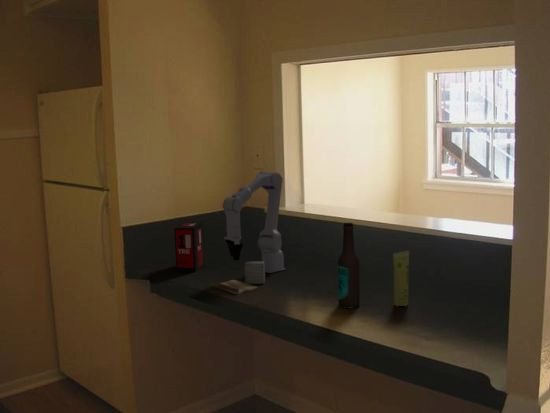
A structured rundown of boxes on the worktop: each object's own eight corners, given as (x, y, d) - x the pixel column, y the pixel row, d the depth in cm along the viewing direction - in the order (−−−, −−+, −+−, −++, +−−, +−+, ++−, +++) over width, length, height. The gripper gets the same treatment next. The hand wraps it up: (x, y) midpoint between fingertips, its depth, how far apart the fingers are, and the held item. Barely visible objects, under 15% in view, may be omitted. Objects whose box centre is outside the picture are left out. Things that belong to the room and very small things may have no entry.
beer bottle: (334, 304, 223) (333, 222, 218) (352, 301, 226) (352, 220, 221) (345, 309, 216) (344, 225, 212) (363, 306, 219) (363, 223, 214)
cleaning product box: (195, 272, 276) (193, 228, 274) (176, 271, 278) (174, 228, 275) (204, 263, 293) (203, 222, 290) (186, 263, 294) (184, 222, 291)
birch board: (233, 281, 258) (233, 277, 257) (258, 288, 246) (258, 283, 246) (212, 286, 251) (212, 282, 250) (236, 294, 239) (236, 289, 238)
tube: (407, 308, 216) (407, 253, 213) (392, 307, 217) (392, 253, 215) (409, 303, 221) (409, 250, 218) (394, 302, 223) (394, 249, 220)
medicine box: (265, 281, 257) (264, 261, 256) (264, 284, 252) (263, 263, 251) (246, 281, 258) (245, 261, 256) (245, 284, 253) (244, 263, 252)
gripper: (221, 223, 260) (222, 255, 262) (226, 229, 246) (228, 262, 248) (237, 222, 262) (238, 253, 264) (244, 228, 248) (245, 261, 250)
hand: (234, 258), depth 256 cm, fingers open, 7 cm apart
